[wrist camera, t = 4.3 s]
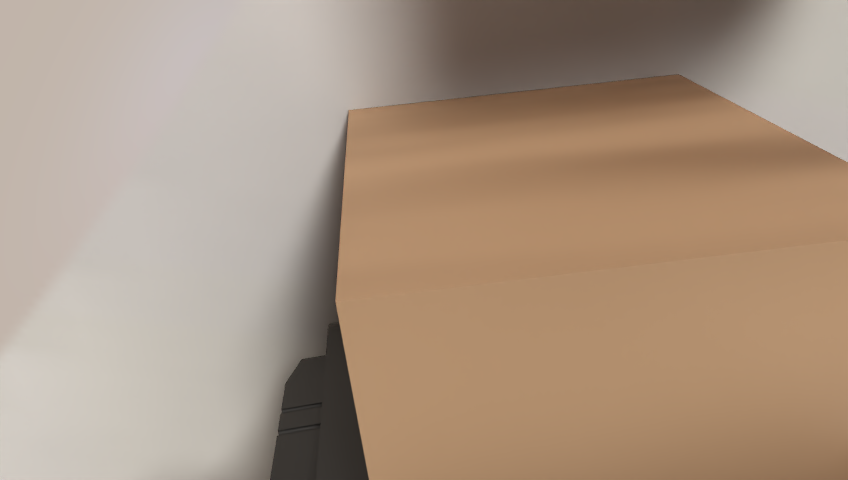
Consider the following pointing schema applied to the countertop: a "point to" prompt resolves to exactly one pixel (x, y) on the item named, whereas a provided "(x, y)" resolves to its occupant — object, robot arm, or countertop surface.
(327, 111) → the countertop surface
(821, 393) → the walnut brick
